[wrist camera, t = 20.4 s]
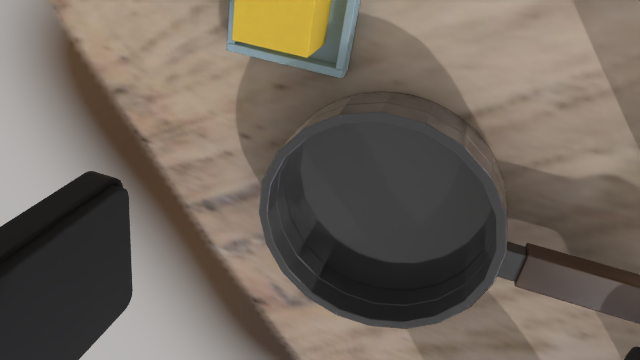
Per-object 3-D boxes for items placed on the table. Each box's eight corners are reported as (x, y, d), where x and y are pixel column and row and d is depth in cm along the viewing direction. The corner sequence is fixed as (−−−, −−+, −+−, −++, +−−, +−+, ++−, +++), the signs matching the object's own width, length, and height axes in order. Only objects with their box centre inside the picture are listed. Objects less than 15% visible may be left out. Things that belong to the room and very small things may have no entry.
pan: (295, 66, 33) (272, 84, 29) (541, 126, 30) (548, 153, 26) (270, 255, 40) (250, 286, 37) (465, 316, 37) (463, 357, 34)
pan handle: (503, 235, 31) (503, 248, 30) (688, 287, 29) (696, 303, 28) (490, 266, 32) (490, 279, 31) (667, 318, 30) (674, 335, 29)
